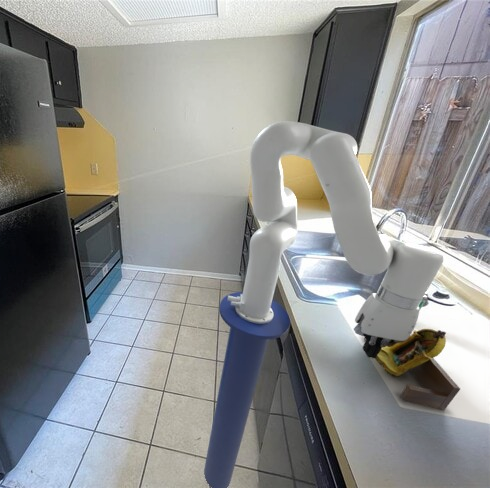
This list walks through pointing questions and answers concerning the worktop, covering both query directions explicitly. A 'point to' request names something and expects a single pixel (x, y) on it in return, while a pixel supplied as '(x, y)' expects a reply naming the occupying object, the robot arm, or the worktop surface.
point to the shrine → (411, 351)
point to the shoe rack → (430, 385)
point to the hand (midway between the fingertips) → (368, 353)
